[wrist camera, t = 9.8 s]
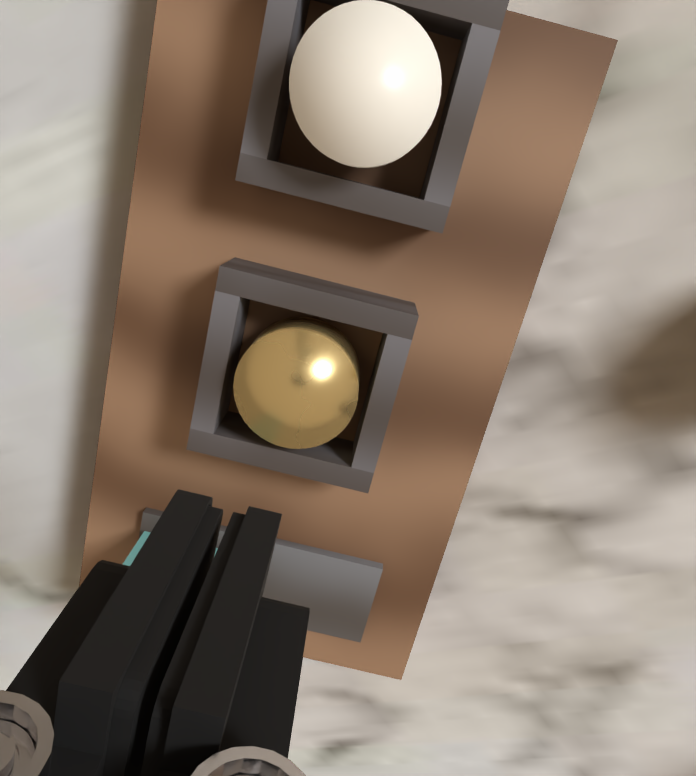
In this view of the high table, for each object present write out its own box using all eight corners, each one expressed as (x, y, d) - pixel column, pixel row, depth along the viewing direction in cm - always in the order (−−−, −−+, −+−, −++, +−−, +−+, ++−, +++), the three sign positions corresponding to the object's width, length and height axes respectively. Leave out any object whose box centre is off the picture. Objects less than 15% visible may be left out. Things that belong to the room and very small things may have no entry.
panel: (190, -54, 22) (141, -116, 17) (591, 54, 22) (647, 23, 17) (100, 570, 29) (50, 641, 25) (399, 639, 30) (403, 723, 25)
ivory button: (314, 2, 18) (307, -19, 16) (452, 39, 18) (460, 22, 16) (285, 149, 19) (274, 146, 17) (413, 182, 19) (418, 183, 18)
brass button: (257, 304, 22) (246, 315, 20) (372, 332, 22) (372, 347, 20) (235, 411, 23) (223, 432, 21) (344, 438, 23) (341, 461, 21)
